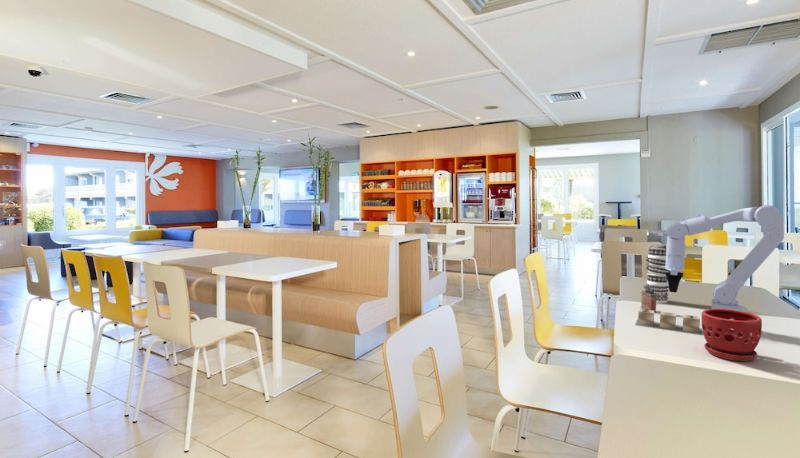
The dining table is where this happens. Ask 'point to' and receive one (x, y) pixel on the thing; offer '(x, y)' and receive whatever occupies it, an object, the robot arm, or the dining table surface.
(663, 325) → the plain block
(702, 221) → the robot arm
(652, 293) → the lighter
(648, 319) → the block seven
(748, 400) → the dining table surface
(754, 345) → the plant pot
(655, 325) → the felt strip
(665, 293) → the decorative candle
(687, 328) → the block one
